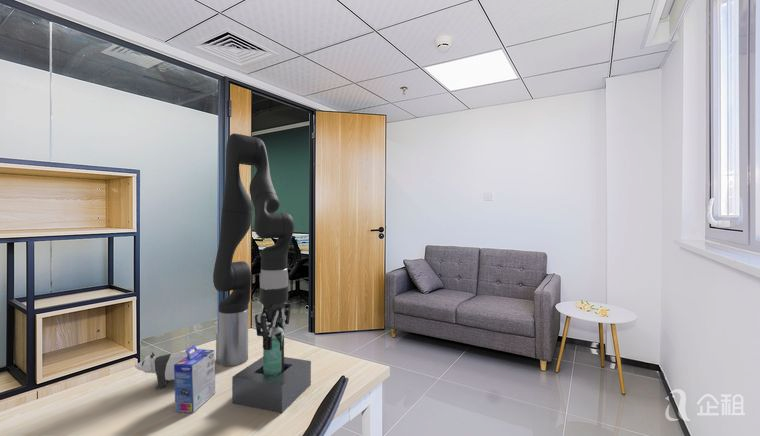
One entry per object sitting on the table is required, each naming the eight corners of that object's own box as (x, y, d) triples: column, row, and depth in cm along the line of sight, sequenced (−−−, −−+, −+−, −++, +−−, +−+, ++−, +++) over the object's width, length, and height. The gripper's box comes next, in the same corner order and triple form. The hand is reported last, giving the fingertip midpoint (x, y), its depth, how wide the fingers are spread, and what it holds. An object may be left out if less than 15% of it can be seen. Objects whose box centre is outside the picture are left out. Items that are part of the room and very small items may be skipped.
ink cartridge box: (197, 391, 96) (197, 340, 96) (216, 392, 96) (216, 341, 96) (172, 412, 86) (173, 354, 86) (193, 413, 86) (193, 356, 86)
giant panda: (195, 376, 105) (195, 345, 105) (192, 384, 100) (192, 352, 100) (138, 384, 100) (138, 351, 100) (132, 393, 95) (132, 359, 95)
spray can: (287, 390, 98) (288, 320, 97) (275, 400, 92) (276, 326, 92) (271, 386, 99) (271, 318, 99) (258, 396, 94) (259, 323, 94)
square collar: (232, 402, 91) (232, 376, 91) (266, 376, 105) (266, 354, 105) (281, 413, 86) (282, 385, 86) (310, 384, 101) (310, 360, 101)
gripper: (277, 279, 103) (276, 335, 104) (245, 289, 89) (245, 354, 90) (299, 280, 101) (299, 338, 101) (270, 291, 87) (270, 357, 88)
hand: (273, 345), depth 96 cm, fingers closed on spray can, 5 cm apart
